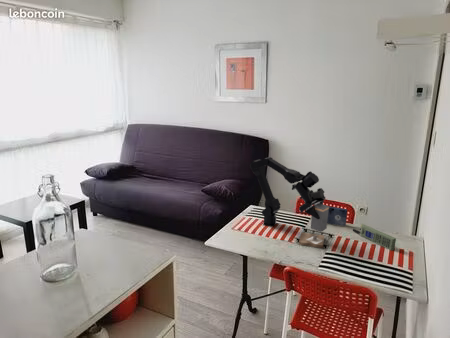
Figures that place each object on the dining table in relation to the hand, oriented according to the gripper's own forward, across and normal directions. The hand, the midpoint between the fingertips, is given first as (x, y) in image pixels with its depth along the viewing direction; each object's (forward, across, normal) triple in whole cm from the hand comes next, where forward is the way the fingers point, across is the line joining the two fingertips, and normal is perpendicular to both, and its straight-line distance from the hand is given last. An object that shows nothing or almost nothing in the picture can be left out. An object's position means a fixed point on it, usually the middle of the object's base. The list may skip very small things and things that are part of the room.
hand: (322, 217), depth 175 cm
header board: (+7, -3, +12) cm, 14 cm away
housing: (+4, 0, +6) cm, 7 cm away
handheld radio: (+24, +20, -4) cm, 31 cm away
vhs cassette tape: (+4, +26, +15) cm, 31 cm away
